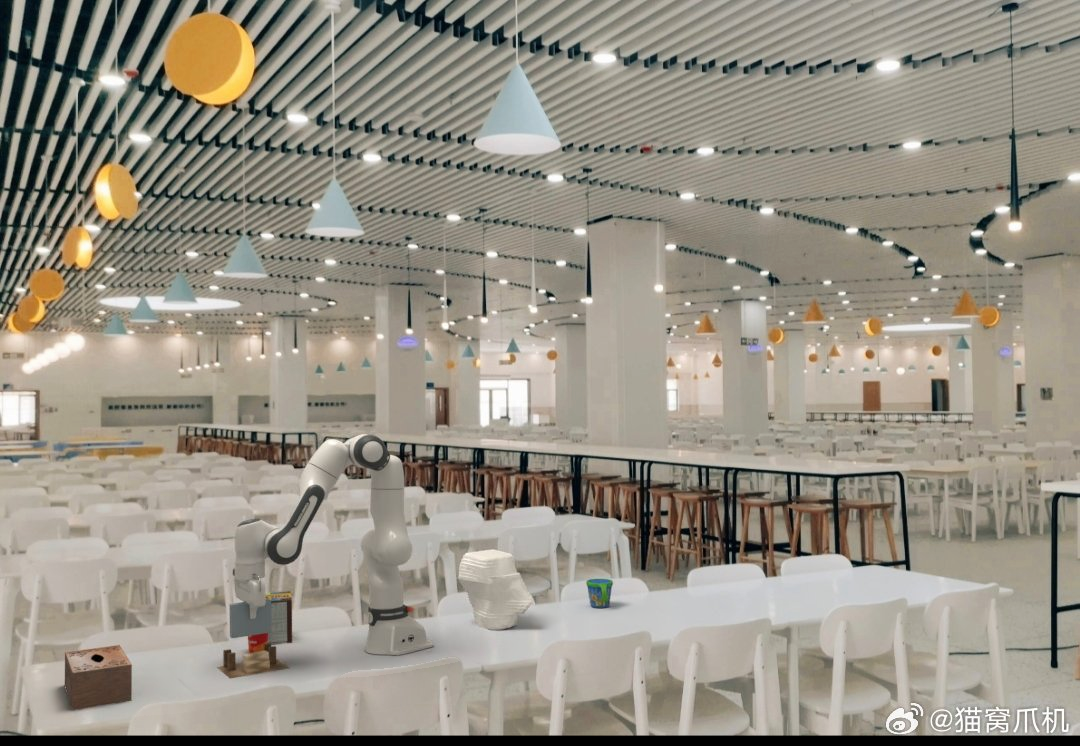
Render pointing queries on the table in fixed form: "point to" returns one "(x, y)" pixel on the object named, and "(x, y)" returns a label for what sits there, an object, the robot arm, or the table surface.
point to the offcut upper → (255, 657)
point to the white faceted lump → (494, 588)
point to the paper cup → (257, 642)
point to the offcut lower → (257, 667)
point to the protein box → (280, 617)
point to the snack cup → (599, 592)
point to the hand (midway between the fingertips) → (250, 617)
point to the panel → (249, 620)
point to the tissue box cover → (98, 677)
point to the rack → (238, 669)
